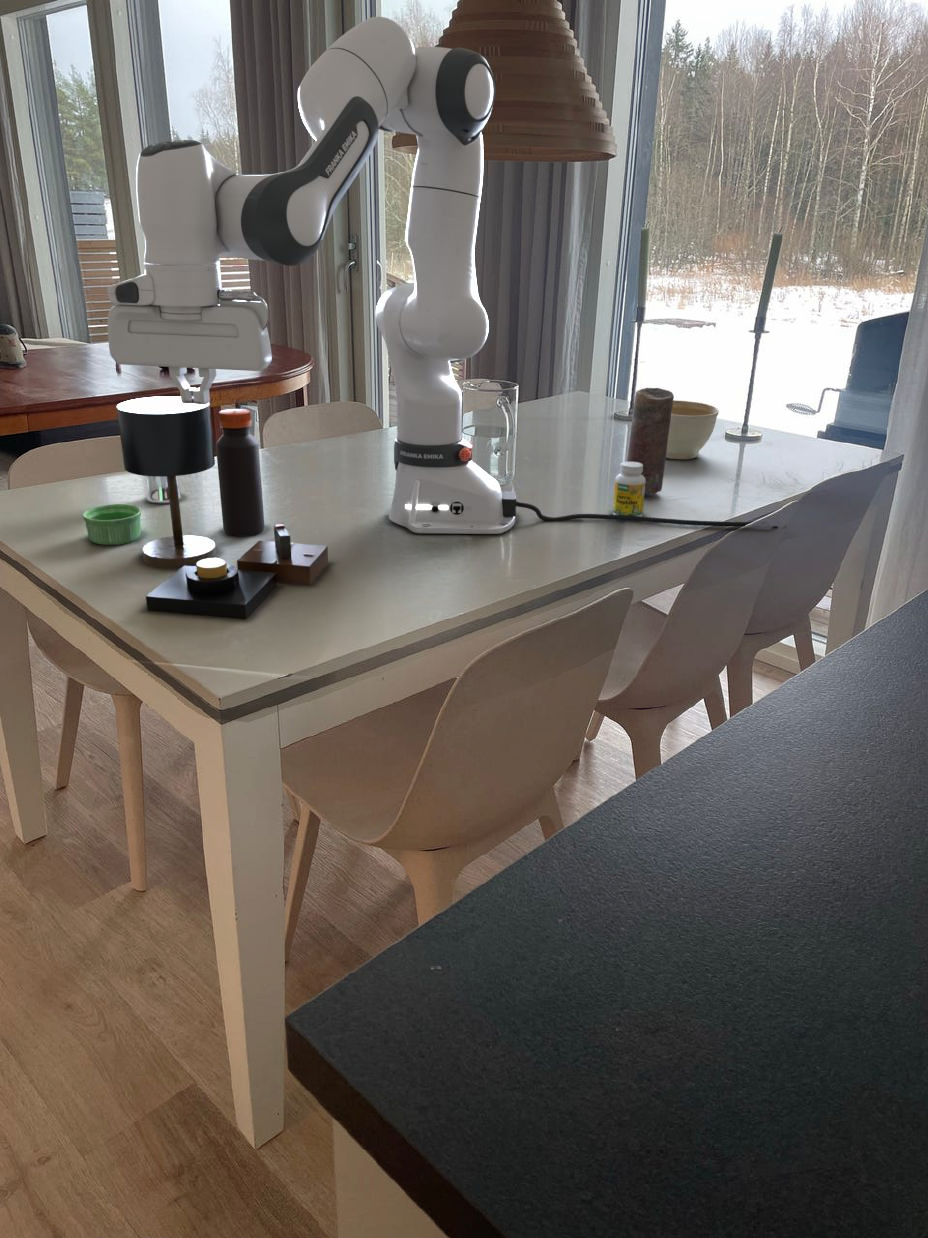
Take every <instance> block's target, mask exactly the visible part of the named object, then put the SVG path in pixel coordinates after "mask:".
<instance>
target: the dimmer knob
mask: <svg viewBox="0 0 928 1238" xmlns="http://www.w3.org/2000/svg"><path fill="white" fill-rule="evenodd" d="M273 533H274V542H275V548H276V550H277V552H278V553H279V555H280V557H281V559H283V558H291V543H292V542H291V541H292V540H291V534H290V533H289V531H288V529H287V528H286V527H285V525H284V523H278V524H274V526H273Z"/></svg>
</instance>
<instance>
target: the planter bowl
mask: <svg viewBox="0 0 928 1238" xmlns="http://www.w3.org/2000/svg"><path fill="white" fill-rule="evenodd" d="M719 412H720V410H719V408H718V407H716V406H713V405H711V404H707V403H704V402H697V401H689V400H674V399H673V406H672V413H671V421H670V428H669V435H668V444H667V452H666V459H670V460H671V459H672V460H687V461H688V460H692V459H695V458H698V455H699V452H700V450H702V449H703V447H705V446H706V444H707V442H708V441H709V439H710V438H711V437H712V434H713V432H714V429H715V426H716V422H717V419H718V415H719Z"/></svg>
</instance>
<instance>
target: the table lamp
mask: <svg viewBox="0 0 928 1238" xmlns="http://www.w3.org/2000/svg"><path fill="white" fill-rule="evenodd" d="M115 408H116V414H117V421H118V423H117V424H118V430H119V431H118V432H119V437H120V438H119V439H120V446H121V453H122V461H123V468H124V471H126V472H127V473H130V474H133V475H137V476H143V477H147V476H154V477H167V485H168V494H169V502H170V503H169V512H170V518H171V519H170V520H171V529H172V536H165V537H161V538H157V539H154V540H151V541H149V542H148V543H146V544H144V545H143V546H142V548H141V553H142V560H143V562H144V563H146V565H148V566H151V567H154V568H159V569H181V568H182V567H183V566H196V563H197V562H198V561H200V560H203V559H207V558H216V556H217V544H216V542H215V541H214V540H213V539H211V538H209V537H206V536H200V535H190V534H186V535H184V534H183V526H182V525H183V524H182V518H181V517H182V515H181V508H180V500H179V497H178V487H177V481H178V477H180V476H187V475H193V474H198V473H202V472H206V471H208V470H210V469H211V468H214V467H215V465H216V458H215V449H214V439H213V427H212V417H211V416H212V415H211V403H210V402H209V403H208V404H206V405H204V404H185V403H182V402H181V396H169V395H168V396H150V397H140V398H135V399H130V400H126V401H125V400H124V401H123V402H120V403H118V404H117V405H116V407H115ZM176 476H177V478H176Z"/></svg>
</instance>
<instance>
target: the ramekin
mask: <svg viewBox="0 0 928 1238" xmlns="http://www.w3.org/2000/svg"><path fill="white" fill-rule="evenodd" d="M141 516H142V509H141V507H139V506H137V505H134V504H129V503H128V504H126V503H113V504H103V505H99V506H94V507H91V508H89V509H87V510H85V511H83V513H82V519H83V521H84V523H85V527H86V532H87V535H88V539H89V540H90V541H91V542H92V543H95V544H98V545H104V546H114V545H115V546H116V545H122V544H123V545H124V544H127V543H131V542H134V541H136V540H138V539H139V538H140V537H141V535H142V534H141V533H142V527H141V523H142V522H141Z"/></svg>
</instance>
